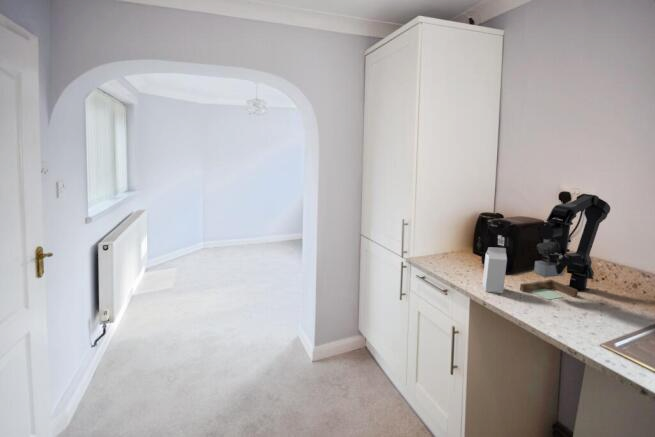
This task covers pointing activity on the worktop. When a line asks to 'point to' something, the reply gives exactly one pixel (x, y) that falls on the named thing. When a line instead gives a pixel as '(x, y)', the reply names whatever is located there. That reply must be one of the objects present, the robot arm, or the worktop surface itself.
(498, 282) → the milk carton
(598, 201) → the robot arm
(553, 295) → the pad
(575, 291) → the wooden corner frame
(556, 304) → the worktop surface
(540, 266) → the bracket
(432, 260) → the worktop surface
